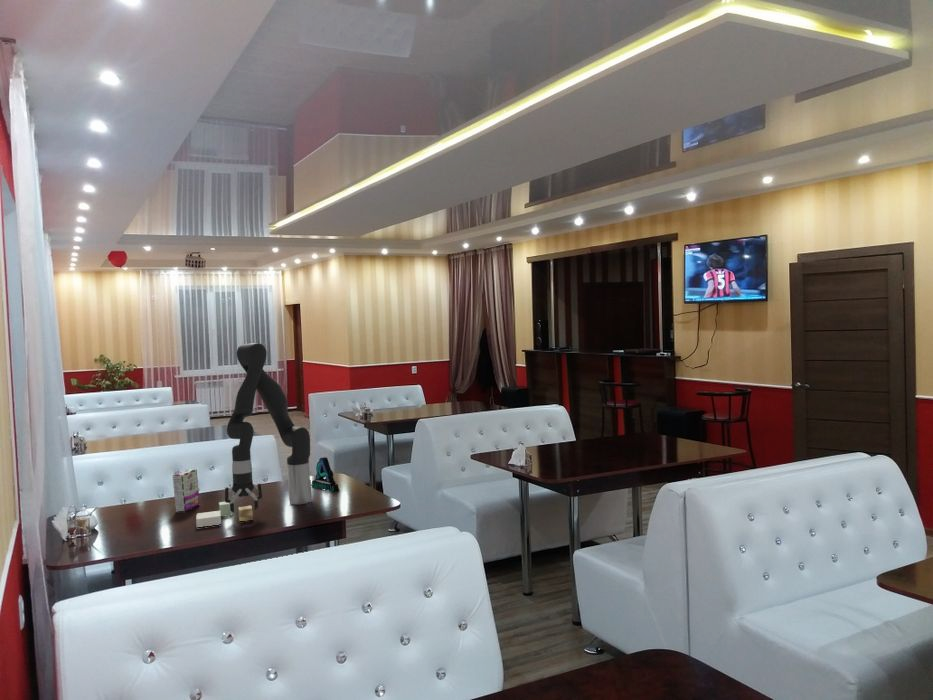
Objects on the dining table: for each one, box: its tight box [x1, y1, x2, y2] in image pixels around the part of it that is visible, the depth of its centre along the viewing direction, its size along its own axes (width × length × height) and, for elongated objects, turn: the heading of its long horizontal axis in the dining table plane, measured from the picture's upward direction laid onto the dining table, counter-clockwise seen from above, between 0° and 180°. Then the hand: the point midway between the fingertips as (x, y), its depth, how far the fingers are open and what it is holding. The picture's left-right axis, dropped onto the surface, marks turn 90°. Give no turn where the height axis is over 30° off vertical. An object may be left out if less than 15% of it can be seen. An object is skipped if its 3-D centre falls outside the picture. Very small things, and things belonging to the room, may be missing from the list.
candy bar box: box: [172, 468, 201, 513], centre depth 306 cm, size 11×5×16 cm, turn 168°
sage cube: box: [218, 501, 234, 517], centre depth 294 cm, size 5×5×5 cm
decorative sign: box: [311, 456, 340, 493], centre depth 330 cm, size 19×2×15 cm, turn 46°
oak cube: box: [238, 505, 254, 522], centre depth 285 cm, size 5×5×5 cm
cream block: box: [195, 510, 222, 528], centre depth 281 cm, size 9×9×4 cm
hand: (244, 510), depth 284 cm, fingers open, 8 cm apart
